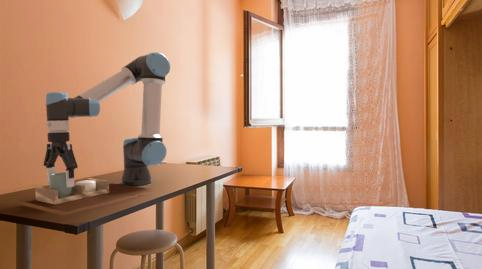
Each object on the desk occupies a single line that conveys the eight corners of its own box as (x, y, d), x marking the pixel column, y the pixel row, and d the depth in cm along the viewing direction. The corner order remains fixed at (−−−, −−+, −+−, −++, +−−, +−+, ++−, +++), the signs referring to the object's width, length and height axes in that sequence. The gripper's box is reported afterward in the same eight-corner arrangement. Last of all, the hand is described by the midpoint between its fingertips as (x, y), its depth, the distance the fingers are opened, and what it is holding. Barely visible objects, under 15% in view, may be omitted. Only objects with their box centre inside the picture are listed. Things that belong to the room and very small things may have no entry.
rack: (89, 191, 145) (89, 178, 145) (109, 195, 137) (108, 180, 137) (35, 202, 126) (35, 187, 125) (55, 207, 118) (54, 190, 118)
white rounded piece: (89, 190, 141) (89, 179, 141) (99, 192, 137) (99, 181, 137) (72, 194, 135) (72, 182, 135) (83, 196, 131) (82, 184, 131)
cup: (48, 202, 122) (47, 175, 121) (51, 197, 129) (50, 173, 128) (71, 199, 125) (70, 174, 124) (73, 195, 132) (72, 171, 131)
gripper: (32, 132, 129) (34, 184, 130) (66, 132, 116) (69, 190, 117) (51, 131, 136) (53, 180, 137) (86, 131, 122) (88, 186, 123)
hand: (60, 185), depth 127 cm, fingers open, 13 cm apart
